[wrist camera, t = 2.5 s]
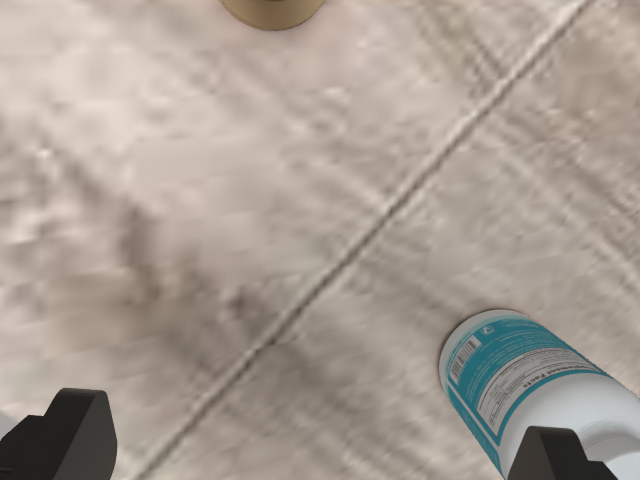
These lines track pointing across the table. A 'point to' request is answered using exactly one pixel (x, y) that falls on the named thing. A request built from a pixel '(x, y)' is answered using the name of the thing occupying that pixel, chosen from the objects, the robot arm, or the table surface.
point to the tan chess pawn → (272, 12)
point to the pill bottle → (536, 392)
